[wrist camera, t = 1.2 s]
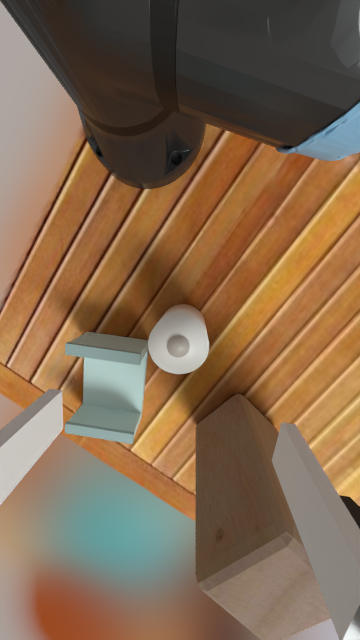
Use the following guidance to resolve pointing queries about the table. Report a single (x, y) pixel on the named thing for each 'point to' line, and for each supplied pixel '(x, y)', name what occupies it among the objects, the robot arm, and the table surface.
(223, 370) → the table surface
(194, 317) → the roll
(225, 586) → the wooden block
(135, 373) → the cradle
